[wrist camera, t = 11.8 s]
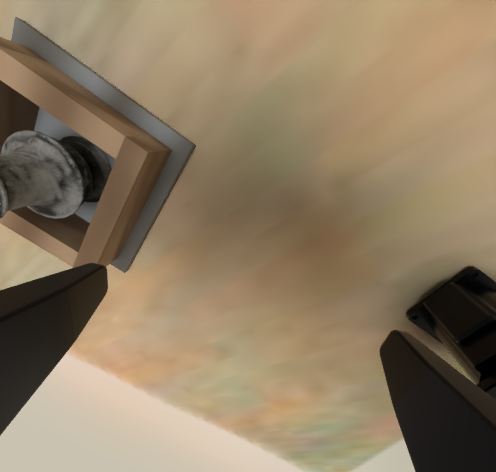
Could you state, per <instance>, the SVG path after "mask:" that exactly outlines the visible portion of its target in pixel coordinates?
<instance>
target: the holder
mask: <svg viewBox="0 0 496 472" xmlns="http://www.w3.org/2000/svg"><path fill="white" fill-rule="evenodd" d="M23 130H31V131H38V132H41V133H43V134H45V135H48V136H50V137H52V138H55V139H57V140H60V139H62V138H63V137H67V136H79V137H83V138H85V139H87V140H89V141H90V142H92V143H93V144H95V145H96V146H98V147H99V148H100V149H101V151H102V152H103V153H104V154H105V156H106V157H107V159H108V161H109V163H110V166H111V169H112V170H111V173H110V175H109V178H108V180H107V182H106V185H105V187H104V190H103V192H102V195H101V197H100V200H99V201H98V202H93V203H88V202H84V203H83V204H82V205H81V206H80V208H79V209H78V210H77V211H76V212H75V213H74V214H72V215H70V216H68V217H66V218H57V219H55V218H49V217H45V216H43V215H40V214H38V213H36V212H34V211H33V210H31V209H30V208H28V207H27V206H25V207H21V208H18V209H14V210H10V211H7V212H6V214H5V215H4V216H3V217H2V218H0V223H1V224H3V225H4V226H6V227H8V228H9V229H11V230H13V231H14V232H16V233H18V234H19V235H21V236H23V237H24V238H26V239H28V240H29V241H31V242H32V243H34V244H36V245H37V246H39V247H41V248H42V249H44V250H46V251H47V252H49V253H51V254H52V255H54V256H56V257H57V258H59V259H61V260H62V261H64V262H66V263H67V264H69V265H71V266H72V267H74V268H75V267H78V266H82V265H85V264H88V263H96V264H101V265H104V266H107V265H109V264H111V265H113V266H115V267H116V268H118V269H119V270H121V271H123V272H124V273H125V272H126V271H128V269H129V267H130V266H131V264H132V262H133V260H134V258H135V256H136V254H137V253H138V251H139V249H140V247H141V245H142V243H143V242H144V240H145V238H146V236H147V234H148V232H149V230H150V229H151V227H152V225H153V223H154V221H155V219H156V218H157V216H158V214H159V212H160V210H161V208H162V206H163V205H164V203H165V201H166V199H167V197H168V195H169V194H170V192H171V190H172V188H173V186H174V184H175V182H176V181H177V179H178V177H179V175H180V173H181V171H182V170H183V168H184V166H185V164H186V162H187V160H188V158H189V157H190V155H191V153H192V151H193V149H194V147H195V146H196V145H194V144H193V143H191V142H190V141H189V140H187V139H186V138H185V137H183V136H182V135H180V134H179V133H178V132H176V131H175V130H174V129H172V128H171V127H169V126H168V125H167V124H165V123H164V122H163V121H161V120H160V119H158V118H157V117H156V116H154V115H153V114H152V113H150V112H149V111H147V110H146V109H145V108H143V107H142V106H140V105H139V104H138V103H136V102H135V101H134V100H132V99H131V98H129V97H128V96H127V95H125V94H124V93H123V92H121V91H120V90H118V89H117V88H116V87H114V86H113V85H112V84H110V83H109V82H107V81H106V80H105V79H103V78H102V77H101V76H99V75H98V74H96V73H95V72H94V71H92V70H91V69H90V68H88V67H87V66H85V65H84V64H83V63H81V62H80V61H78V60H77V59H76V58H74V57H73V56H72V55H70V54H69V53H67V52H66V51H65V50H63V49H62V48H61V47H59V46H58V45H56V44H55V43H54V42H52V41H51V40H50V39H48V38H47V37H45V36H44V35H43V34H41V33H40V32H39V31H37V30H36V29H34V28H33V27H32V26H30V25H29V24H27V23H26V22H25V21H23V20H21V19H19V18H17V17H15V22H14V28H13V34H12V40H11V41H9V40H6V39H3V38H1V37H0V156H1V151H2V147H3V144H4V143H5V141H6V140H7V138H8V137H9V136H11V135H12V134H14V133H15V132H18V131H23Z"/></svg>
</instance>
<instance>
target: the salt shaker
mask: <svg viewBox="0 0 496 472" xmlns="http://www.w3.org/2000/svg"><path fill="white" fill-rule="evenodd" d="M111 170H112V169H111V166H110V163H109V161H108V159H107V157H106V156H105V154H104V153H103V152H102V151H101V149H100V148H99V147H98V146H96V145H95V144H93V143H92V142H90V141H89V140H87V139H85V138H83V137H79V136H67V137H63V138H62V139H60V140H57V139H55V138H52V137H50V136H48V135H45V134H43V133H41V132H38V131H31V130H23V131H18V132H15V133H14V134H12V135H11V136H9V137H8V138H7V140H6V141H5V143H4V144H3V147H2V151H1V156H0V218H2V217H3V216H4V215H5V214H6V212H7V211H10V210H14V209H18V208H21V207H25V206H27V207H28V208H30V209H31V210H33V211H34V212H36V213H38V214H40V215H43V216H45V217H49V218H55V219H57V218H66V217H68V216H70V215H72V214H74V213H75V212H76V211H77V210H78V209H79V208H80V206H81V205H82V204H83V203H84V202H88V203H93V202H98V201H99V200H100V197H101V195H102V192H103V190H104V187H105V185H106V182H107V180H108V178H109V175H110V173H111Z"/></svg>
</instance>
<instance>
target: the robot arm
mask: <svg viewBox="0 0 496 472" xmlns="http://www.w3.org/2000/svg"><path fill="white" fill-rule="evenodd" d="M472 273H474V274H472ZM471 274H472V275H471ZM107 289H108V280H107V268H106V266H104V265H101V264H96V263H88V264H85V265H82V266H78V267H75V268H72V269H69V270H65V271H62V272H59V273H56V274H52V275H49V276H46V277H43V278H39V279H36V280H33V281H30V282H26V283H23V284H20V285H17V286H13V287H10V288H7V289H4V290H0V435H1V434H2V433H3V431H4V430H5V429H6V427H7V426H8V425H9V424H10V423H11V421H12V420H13V419H14V418H15V416H16V415H17V414H18V413H19V411H20V410H21V408H22V407H23V406H24V405H25V404H26V403H27V401H28V400H29V399H30V397H31V396H32V395H33V394H34V392H35V391H36V390H37V389H38V387H39V386H40V385H41V384H42V382H43V381H44V380H45V379H46V377H47V376H48V375H49V374H50V372H51V371H52V370H53V369H54V367H55V366H56V365H57V364H58V362H59V361H60V360H61V359H62V357H63V356H64V355H65V354H66V352H67V351H68V350H69V349H70V347H71V346H72V345H73V343H74V342H75V341H76V339H77V338H78V336H79V335H80V333H81V332H82V330H83V329H84V327H85V326H86V324H87V323H88V321H89V320H90V318H91V316H92V315H93V313H94V312H95V310H96V309H97V307H98V306H99V304H100V303H101V301H102V300H103V298H104V296H105V295H106V293H107ZM414 315H415V316H414ZM407 317H408V318H409V320H410V321H412V322H413V323H414V324H416V325H417V326H419V327H420V328H421V329H423V330H424V331H426V332H427V333H428V334H430V335H431V336H433V337H434V338H435V339H437V340H438V341H440V342H441V343H442V344H444V345H445V346H446V348H447V349H448V350H449V351H450V353H451V354H452V355H453V357H454V358H455V359H456V360H457V362H458V363H459V364H460V365H461V367H462V368H463V369H464V370H465V372H466V373H467V374H468V375H469V377H470V378H471V379H472V380H473V382H474V383H475V384H476V385H475V384H474V383H473V382H471V381H470V380H469V379H467V378H466V377H465V376H464V375H462V374H461V373H460V372H458V371H457V370H456V369H455V368H453V367H452V366H451V365H449V364H448V363H447V362H446V361H444V360H443V359H442V358H440V357H439V356H438V355H436V354H435V353H434V352H433V351H431V350H430V349H429V348H427V347H426V346H425V345H424V344H422V343H421V342H420V341H418V340H417V339H416V338H415V337H413V336H412V335H411V334H409V333H407V332H404V331H399V330H393V331H391V332H390V334H389V335H388V337H387V338H386V340H385V341H384V343H383V344H382V345H381V348H380V357H381V361H382V365H383V369H384V373H385V377H386V381H387V385H388V388H389V392H390V396H391V400H392V404H393V407H394V410H395V414H396V417H397V420H398V422H399V425H400V428H401V431H402V434H403V437H404V440H405V443H406V445H407V448H408V451H409V454H410V457H411V460H412V463H413V466H414V469H415V471H416V472H496V282H494V281H493V280H492V279H491V278H489V277H488V276H487V275H486V274H484V273H483V272H482V271H480V270H479V269H477V268H476V267H469V268H467V269H466V270H464V271H463V272H461V273H460V274H459V275H457V276H456V277H455V278H453V279H452V280H451V281H449V282H448V283H446V284H445V285H444V286H442V287H441V288H440V289H438V290H437V291H436V292H434V293H433V294H431V295H430V296H429V297H427V298H426V299H425V300H423V301H422V302H421V303H419V304H418V305H416V306H415V307H414V308H412V309H411V310H410V311H408V312H407Z"/></svg>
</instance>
